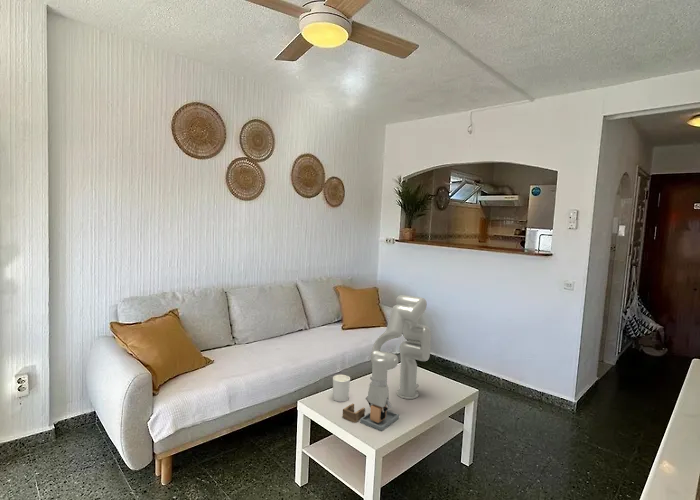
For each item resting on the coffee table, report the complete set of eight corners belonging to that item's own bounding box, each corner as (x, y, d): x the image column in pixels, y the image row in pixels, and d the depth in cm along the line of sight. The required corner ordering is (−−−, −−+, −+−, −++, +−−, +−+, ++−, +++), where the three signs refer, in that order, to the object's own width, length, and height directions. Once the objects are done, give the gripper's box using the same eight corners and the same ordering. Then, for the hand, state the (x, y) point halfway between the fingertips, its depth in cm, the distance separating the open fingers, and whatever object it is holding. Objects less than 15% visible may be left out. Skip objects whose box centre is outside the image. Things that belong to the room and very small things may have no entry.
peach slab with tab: (381, 411, 203) (382, 398, 203) (390, 414, 200) (390, 401, 200) (370, 419, 195) (370, 406, 194) (378, 422, 192) (379, 409, 191)
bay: (352, 411, 205) (352, 403, 205) (364, 416, 201) (364, 408, 200) (342, 417, 199) (342, 409, 198) (354, 422, 194) (355, 414, 194)
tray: (378, 410, 208) (378, 406, 208) (398, 418, 200) (399, 414, 200) (360, 422, 194) (360, 418, 194) (381, 431, 187) (381, 427, 187)
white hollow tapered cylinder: (335, 403, 214) (336, 382, 213) (329, 396, 223) (330, 375, 222) (352, 401, 218) (353, 380, 217) (345, 393, 227) (346, 373, 226)
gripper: (360, 379, 196) (359, 414, 198) (390, 388, 186) (388, 425, 187) (369, 374, 202) (368, 408, 204) (398, 384, 192) (396, 419, 193)
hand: (377, 416), depth 196 cm, fingers open, 5 cm apart
